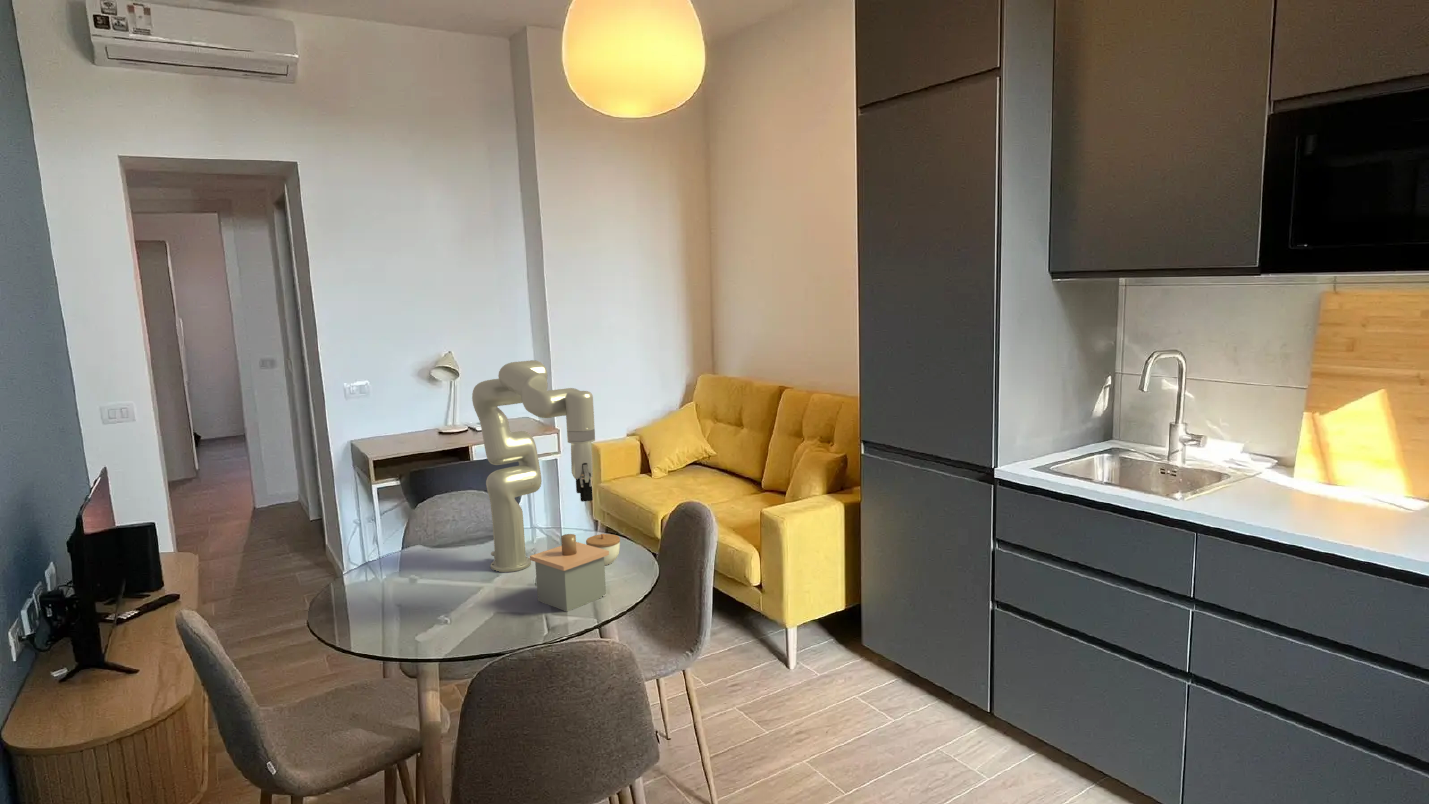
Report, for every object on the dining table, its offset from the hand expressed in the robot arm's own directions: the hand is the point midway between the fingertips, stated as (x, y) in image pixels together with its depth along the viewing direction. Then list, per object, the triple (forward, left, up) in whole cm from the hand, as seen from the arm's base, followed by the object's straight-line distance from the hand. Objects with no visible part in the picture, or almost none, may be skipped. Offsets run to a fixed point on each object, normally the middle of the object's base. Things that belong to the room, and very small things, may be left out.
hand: (584, 496), depth 221 cm
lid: (-4, -3, -18) cm, 19 cm away
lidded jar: (-20, +23, -30) cm, 42 cm away
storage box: (-4, -3, -29) cm, 30 cm away
